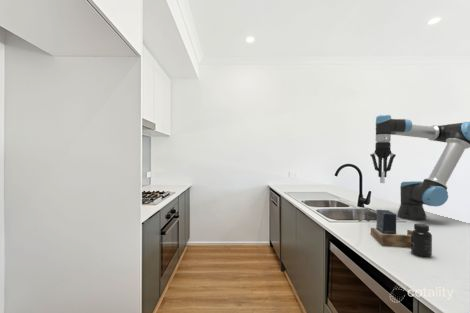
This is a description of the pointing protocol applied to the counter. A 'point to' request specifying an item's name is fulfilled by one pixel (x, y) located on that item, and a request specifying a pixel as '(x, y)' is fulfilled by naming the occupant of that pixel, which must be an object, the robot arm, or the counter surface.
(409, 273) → the counter surface
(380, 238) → the channel
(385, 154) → the robot arm
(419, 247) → the supplement bottle
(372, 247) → the counter surface
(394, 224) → the small box
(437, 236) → the counter surface
